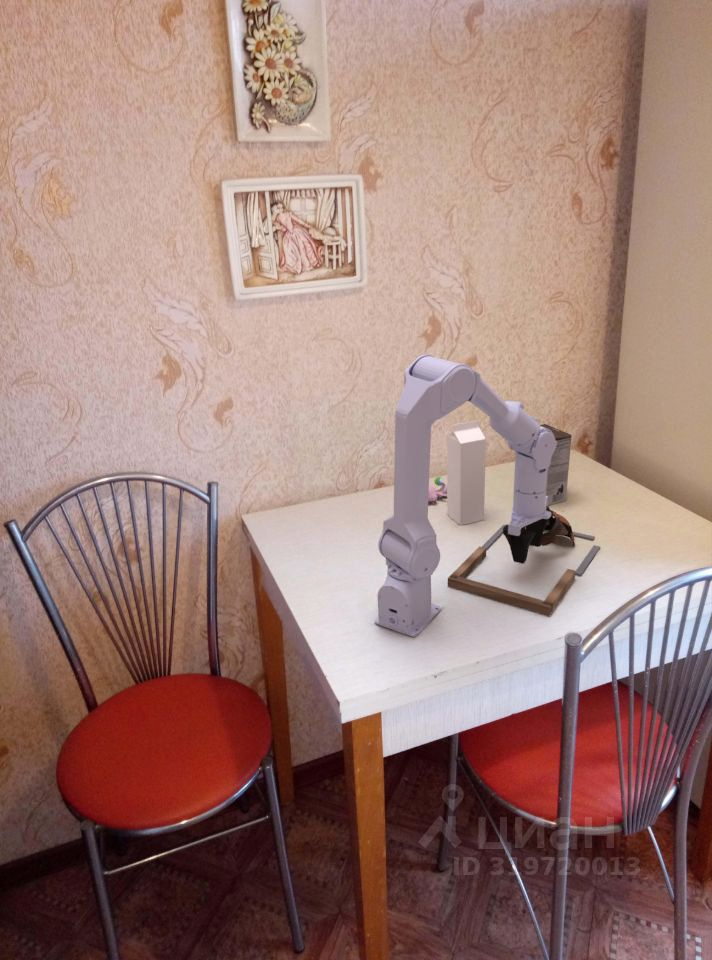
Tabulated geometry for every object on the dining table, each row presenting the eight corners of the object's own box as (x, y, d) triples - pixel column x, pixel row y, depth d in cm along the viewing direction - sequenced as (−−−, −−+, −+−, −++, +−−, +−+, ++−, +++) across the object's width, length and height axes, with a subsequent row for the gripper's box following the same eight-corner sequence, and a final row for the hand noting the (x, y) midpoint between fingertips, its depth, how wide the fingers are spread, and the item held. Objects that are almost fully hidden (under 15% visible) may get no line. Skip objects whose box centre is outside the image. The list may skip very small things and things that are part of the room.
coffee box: (519, 492, 160) (522, 427, 153) (541, 486, 162) (545, 422, 156) (544, 507, 152) (549, 439, 146) (567, 500, 154) (572, 433, 148)
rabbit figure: (448, 494, 165) (396, 500, 157) (451, 470, 163) (399, 475, 155) (464, 502, 160) (411, 509, 152) (467, 479, 158) (414, 484, 150)
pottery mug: (584, 555, 133) (570, 528, 128) (538, 573, 136) (523, 547, 131) (568, 515, 142) (554, 488, 138) (525, 532, 145) (511, 506, 141)
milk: (446, 515, 151) (446, 420, 143) (471, 509, 153) (471, 415, 144) (460, 526, 146) (460, 428, 137) (485, 520, 148) (486, 423, 139)
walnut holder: (549, 616, 114) (549, 607, 113) (447, 586, 124) (447, 578, 124) (575, 579, 124) (575, 570, 123) (479, 554, 134) (479, 546, 134)
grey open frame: (580, 576, 125) (581, 574, 125) (479, 550, 136) (479, 548, 136) (605, 540, 137) (605, 538, 136) (510, 519, 147) (510, 517, 147)
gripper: (536, 507, 116) (533, 576, 121) (565, 477, 127) (560, 542, 132) (498, 499, 119) (495, 566, 125) (528, 471, 130) (525, 533, 136)
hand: (526, 553), depth 129 cm, fingers open, 7 cm apart
